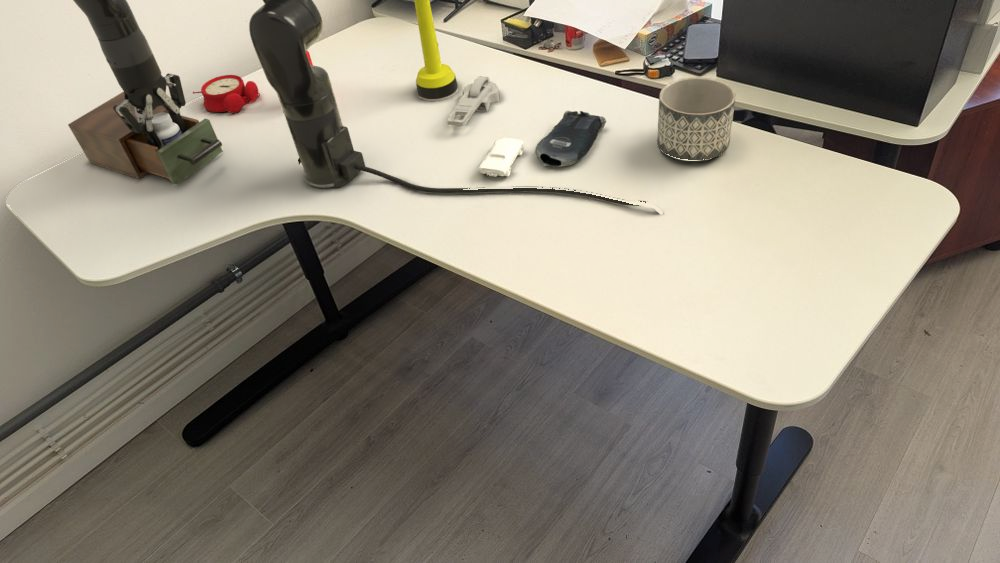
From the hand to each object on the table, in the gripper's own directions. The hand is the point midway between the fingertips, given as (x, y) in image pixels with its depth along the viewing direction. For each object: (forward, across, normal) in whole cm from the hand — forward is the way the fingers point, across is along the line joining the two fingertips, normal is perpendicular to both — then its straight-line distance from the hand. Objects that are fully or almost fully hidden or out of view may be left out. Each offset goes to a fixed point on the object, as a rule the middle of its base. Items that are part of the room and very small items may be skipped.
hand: (168, 137), depth 140 cm
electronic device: (+6, +33, -70) cm, 77 cm away
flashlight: (+7, +43, -34) cm, 55 cm away
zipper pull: (+7, +38, -46) cm, 60 cm away
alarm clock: (+7, +23, +8) cm, 25 cm away
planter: (+6, +41, -90) cm, 100 cm away
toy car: (+6, +24, -60) cm, 65 cm away
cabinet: (+7, 0, +12) cm, 14 cm away
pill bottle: (+5, 0, 0) cm, 5 cm away
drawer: (+6, 0, -1) cm, 6 cm away
